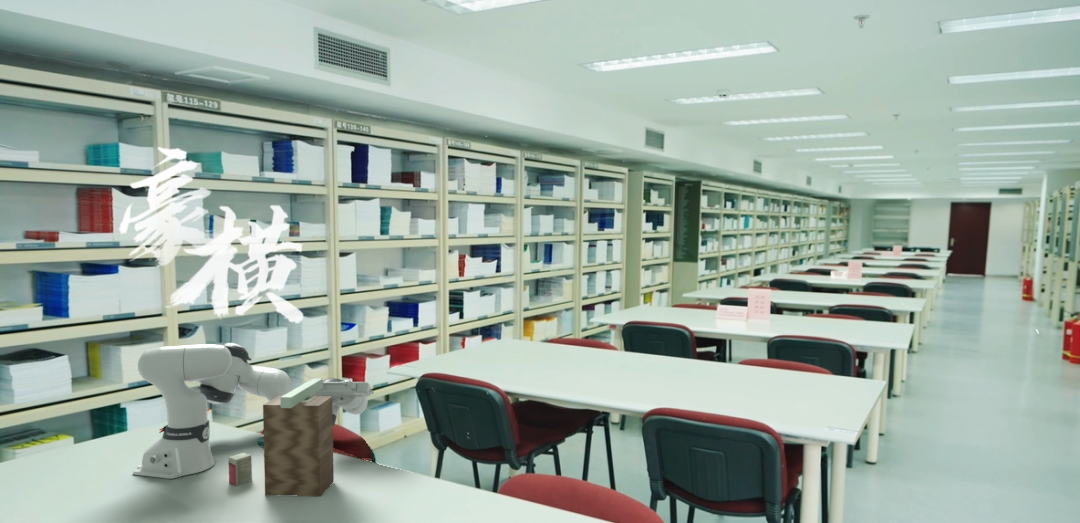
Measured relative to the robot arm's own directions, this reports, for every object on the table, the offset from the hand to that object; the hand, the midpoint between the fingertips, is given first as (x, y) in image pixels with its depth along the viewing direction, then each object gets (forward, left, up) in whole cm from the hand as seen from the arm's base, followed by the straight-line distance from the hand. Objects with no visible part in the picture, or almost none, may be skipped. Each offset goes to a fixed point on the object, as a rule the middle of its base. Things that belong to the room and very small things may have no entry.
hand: (332, 382), depth 208 cm
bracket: (-23, +10, -25) cm, 36 cm away
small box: (-20, -21, -25) cm, 39 cm away
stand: (0, -25, -25) cm, 35 cm away
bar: (0, -22, +1) cm, 22 cm away
